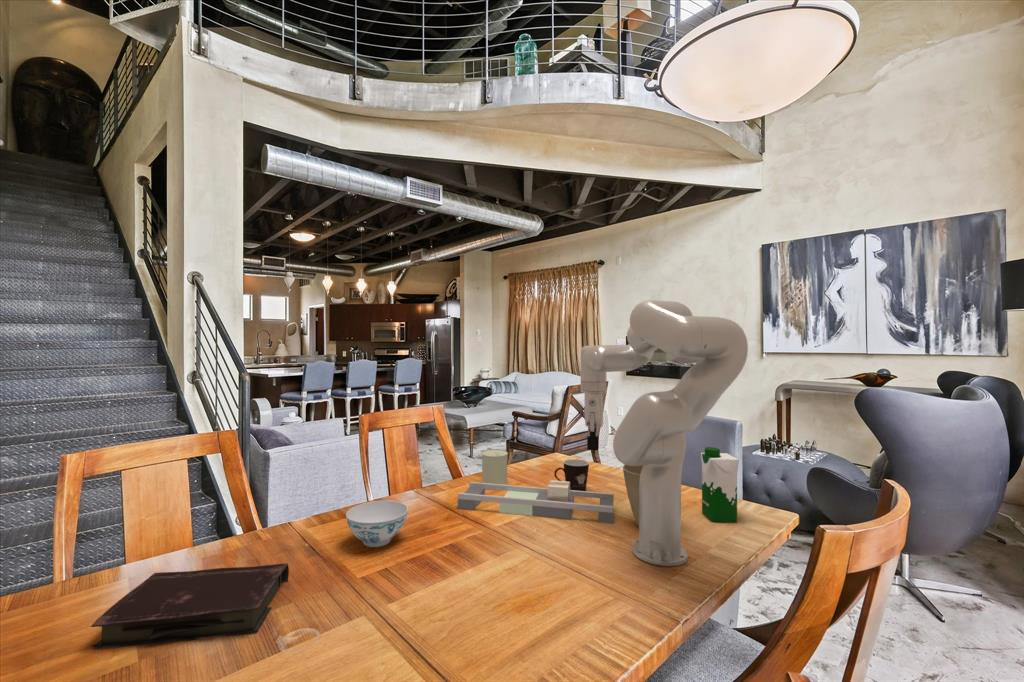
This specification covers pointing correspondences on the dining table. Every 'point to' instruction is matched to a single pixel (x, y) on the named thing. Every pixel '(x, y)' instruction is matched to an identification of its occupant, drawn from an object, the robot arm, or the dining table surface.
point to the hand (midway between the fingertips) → (592, 449)
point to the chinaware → (376, 521)
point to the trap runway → (535, 501)
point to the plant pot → (633, 487)
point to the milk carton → (719, 485)
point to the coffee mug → (575, 473)
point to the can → (494, 467)
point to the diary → (192, 606)
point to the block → (559, 491)
